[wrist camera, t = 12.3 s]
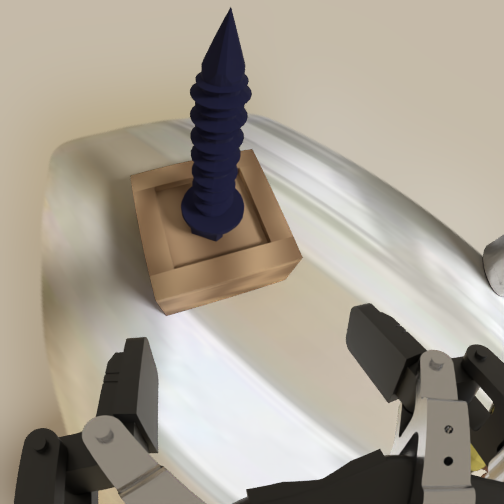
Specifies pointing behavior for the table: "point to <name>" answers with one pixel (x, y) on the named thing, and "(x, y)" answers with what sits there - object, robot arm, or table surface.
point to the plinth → (205, 250)
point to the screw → (217, 137)
